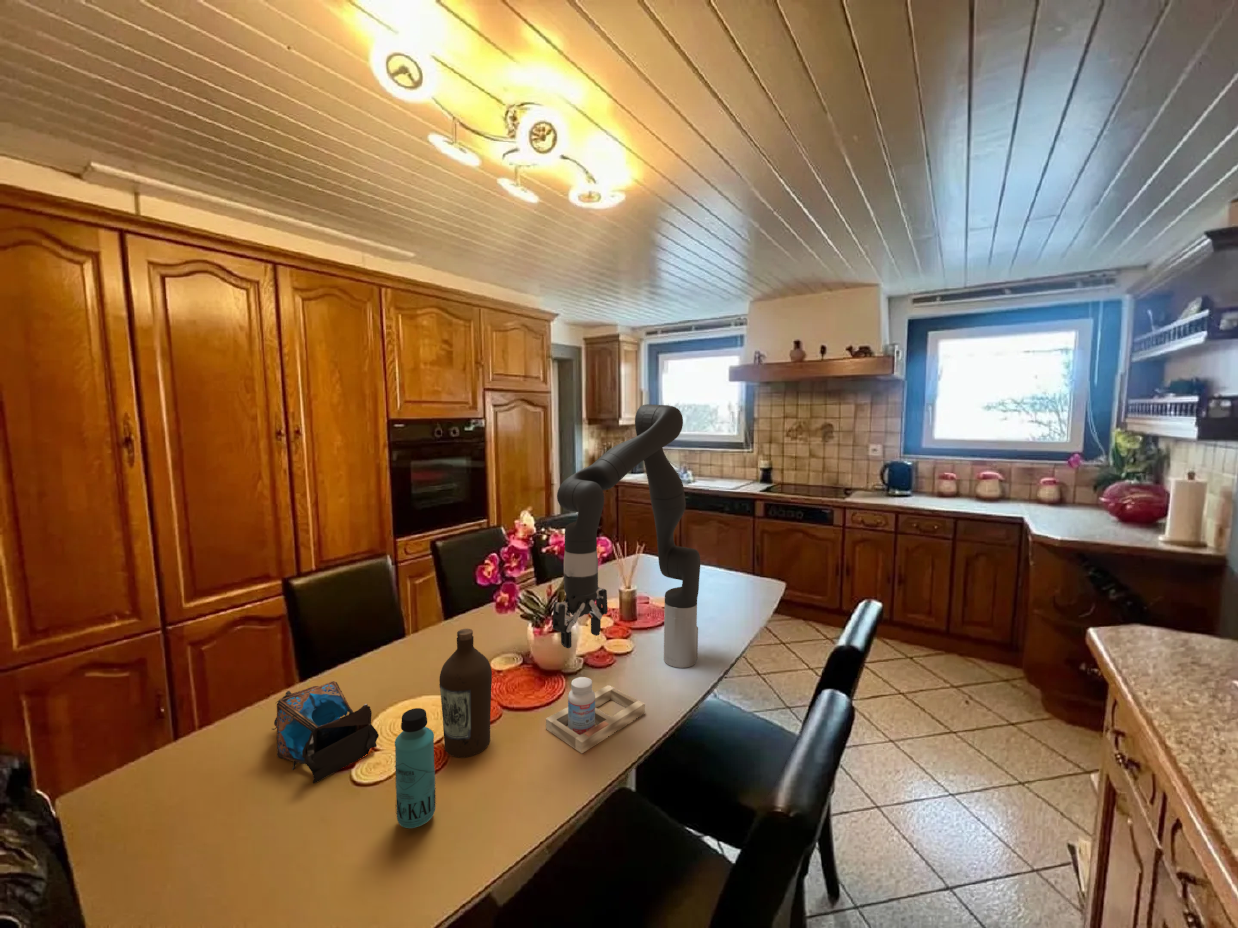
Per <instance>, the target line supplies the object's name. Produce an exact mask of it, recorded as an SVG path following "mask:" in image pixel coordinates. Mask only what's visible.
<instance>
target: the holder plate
mask: <svg viewBox="0 0 1238 928" xmlns="http://www.w3.org/2000/svg"><path fill="white" fill-rule="evenodd" d="M594 693H595V727H593V728H591V729H590V730H588V731H586V732H585V733H583V734H581V735H578V734H577V733H575V732H574V731H572V730H571V729H569V728H568V726H567V725H568V706H567V707H565V708H563V709H561V710H559V711H557V712H556V713H553V714H552V715H550V716H548V717H546V718H545V729H546V730H547V731H548V732H550V733H551V734H553V735H554V736H555V737H557V738H558V739H559V740H561V741H563V742H564V743H566V744H567V745H569V746H570V747H571V748H573V749H575V750H576V751H577V752H578V753H580V754H583V753H586V752H587V751H588V750H590V749H591V748H593V747H595V746H596V745H598V744H599V743H601V742H602V741H605V740H606V739H607V738H609V737H610V736H612V735H613V734H615V733H616V731H617V730H618V731H620V730H622V729H623V728H625V727H626V726H628V725H629V724H631V723H633V722H634V721H636V720H637V719H638V717H639V716H640V717H642V716H643V715H645V714H646V713H645V712H646V711H645V709H646V708H645V707H646V706H645V705H646V703H644V702H643V701H640V700H639V699H637V698H635V697H633V696H631V695H629V694H627V693H625V692H623V691H621V690H619V689H618V688H615V687H614V686H611V685H610V684H608V685H605V686H604V687H602V688H600V689H599V690H596V691H594ZM610 700H611V701H613V702H615V703H617V704H619V705H620V706H623V707H624V708H623V709H622V710H620V711H618V712H617V713H615V714H613V715H612V716H611V715H609V714H607V713H606V712H604V711H602V710H601V709H599V708H598V707H600V706H602V705H603V704H605V703H607V702H609V701H610ZM644 713H645V714H644ZM642 714H643V715H642ZM641 715H642V716H641ZM640 717H639V718H640ZM636 718H637V719H636ZM633 720H634V721H633ZM627 724H628V725H627ZM625 725H626V726H625ZM622 727H623V728H622ZM618 731H617V732H618ZM614 732H615V733H614ZM608 736H609V737H608Z"/></svg>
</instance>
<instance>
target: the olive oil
mask: <svg viewBox="0 0 1238 928" xmlns="http://www.w3.org/2000/svg"><path fill="white" fill-rule="evenodd" d="M456 636H457V638H456V650H455V651H454V652H453V653H451V655H450V656H449V657H448V658H447V660H445V662H444V664H443V665H442V667H441V671H440V674H439V680H438V681H439V685H438V686H439V691H440V703H441V715H442V725H443V726H442V727H443V745H444V751H445V752H446V753H447V754H448V755H450V756H452V757H455V758H469V757H473V756H476V755H478V754H480V753H482V752H484V751H485V749H486V748H488V746H489V744H490V741H491V711H492V710H491V707H492V706H491V704H492V679H493V677H492V676H493V672H492V667H491V664H490V661H489V660H488V658H487V657H486V656H485V655H484V654H483V653H481V652H480V651H479V650H478V649H477V648H476V647H474V630H473V629H471V628H462V629H459V630H457V632H456Z"/></svg>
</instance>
